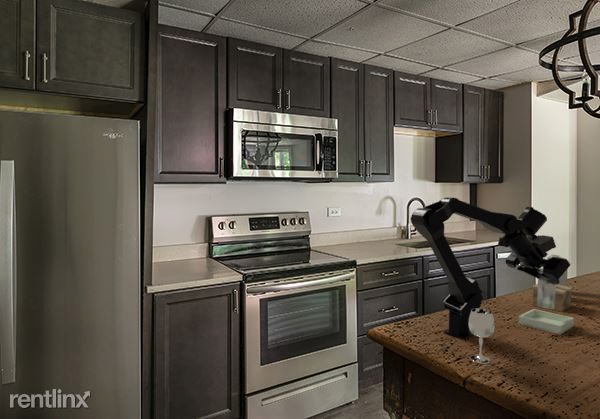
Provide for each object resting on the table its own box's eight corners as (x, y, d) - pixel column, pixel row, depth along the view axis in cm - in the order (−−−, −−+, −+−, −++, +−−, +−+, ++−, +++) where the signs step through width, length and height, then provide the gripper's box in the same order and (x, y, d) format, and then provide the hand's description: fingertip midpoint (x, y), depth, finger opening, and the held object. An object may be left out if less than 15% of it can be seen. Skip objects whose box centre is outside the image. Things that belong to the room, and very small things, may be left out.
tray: (560, 334, 111) (560, 326, 111) (518, 324, 120) (518, 316, 120) (573, 325, 118) (574, 317, 118) (533, 316, 127) (533, 308, 127)
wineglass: (463, 359, 95) (464, 311, 95) (473, 352, 100) (474, 306, 99) (488, 367, 91) (489, 316, 91) (497, 359, 95) (498, 311, 95)
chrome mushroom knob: (547, 309, 116) (549, 272, 115) (532, 304, 121) (533, 269, 120) (560, 307, 118) (561, 271, 117) (544, 303, 122) (545, 268, 122)
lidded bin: (562, 312, 131) (563, 289, 131) (531, 305, 139) (531, 283, 139) (572, 306, 138) (573, 284, 137) (541, 300, 145) (542, 279, 145)
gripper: (566, 230, 108) (596, 268, 111) (514, 224, 126) (541, 256, 129) (541, 259, 106) (572, 297, 110) (492, 249, 124) (520, 281, 128)
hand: (550, 281), depth 119 cm, fingers closed on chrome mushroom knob, 5 cm apart
